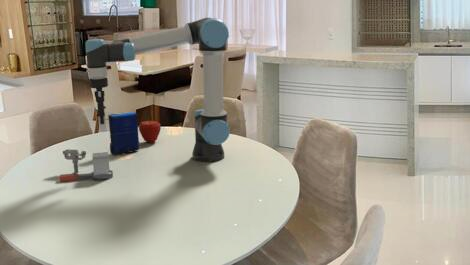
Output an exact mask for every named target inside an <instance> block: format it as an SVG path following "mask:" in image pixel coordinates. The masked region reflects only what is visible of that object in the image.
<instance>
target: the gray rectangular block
mask: <svg viewBox="0 0 470 265" xmlns="http://www.w3.org/2000/svg"><path fill="white" fill-rule="evenodd" d="M109 158H110V157H109V151H106V152H105V151H102V152H92V168H93V171H94V176H96V175H107V174H110V171H109V170H110V159H109Z"/></svg>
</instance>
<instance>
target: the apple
mask: <svg viewBox="0 0 470 265" xmlns="http://www.w3.org/2000/svg"><path fill="white" fill-rule="evenodd" d="M161 128H162V127H161V123H159V122H158V121H155V120H150V119H149V120H145V121H141V122H140V123H139V125H138V132H139V134H140V136H141V137H142V139H143V140H144V141H145V142H146V143H148V144H152V143H155V142H156V141H157V140H158V138H159V135H160V133H161Z"/></svg>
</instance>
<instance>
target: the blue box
mask: <svg viewBox="0 0 470 265" xmlns="http://www.w3.org/2000/svg"><path fill="white" fill-rule="evenodd" d="M138 124H139V122H138V114H137V113H136V112H135V111H129V112H122V113H110V114H108V125H109V126H108V127H109V138H110V143H109V152H110V155H113V156H116V155H123V154H128V153H129V154H130V153H132V152H136V151H137V152H138V151H139V150H140V138H139V125H138Z"/></svg>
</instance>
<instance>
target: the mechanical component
mask: <svg viewBox="0 0 470 265" xmlns="http://www.w3.org/2000/svg"><path fill="white" fill-rule="evenodd" d="M62 154H63V156H64V159H66V160H72V162H71V163H72V164H73V171H74V173H79V166H78V163H79V161H82V160H83V159H85V158H86V155H87V151H85V150H82V151H81V152H80V151H79V149H64V150H63V151H62Z"/></svg>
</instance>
